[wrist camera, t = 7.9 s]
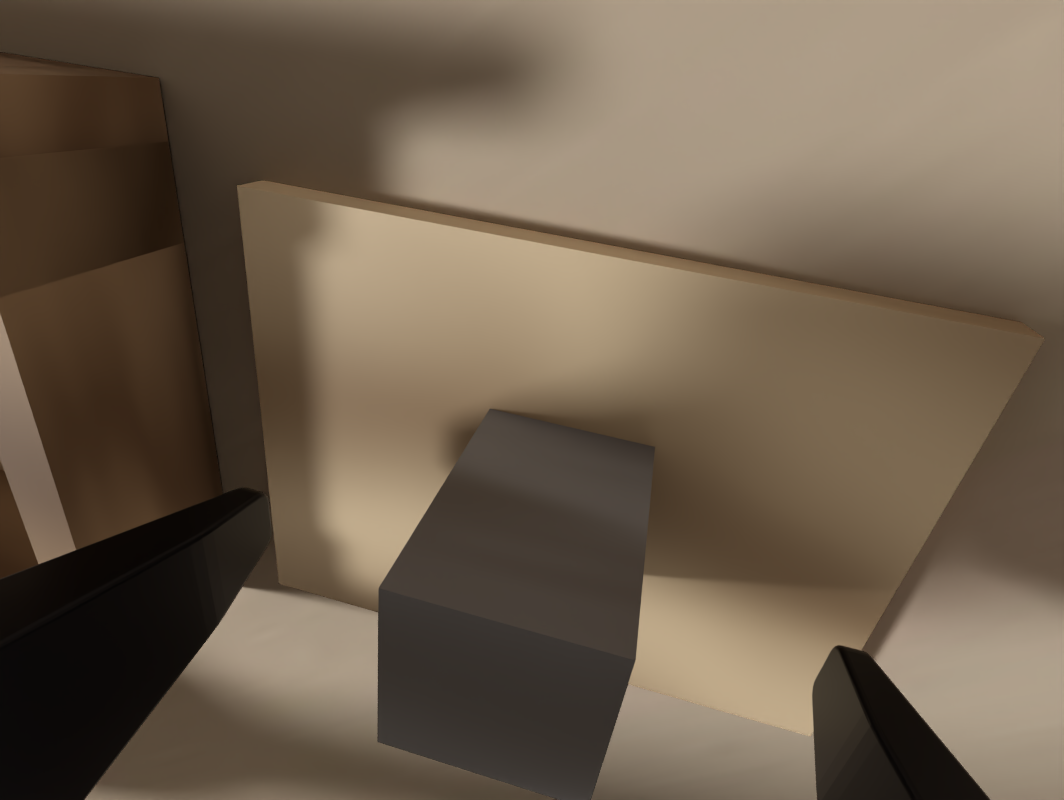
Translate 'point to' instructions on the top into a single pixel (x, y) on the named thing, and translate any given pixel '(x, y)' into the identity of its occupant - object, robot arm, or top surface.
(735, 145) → the top surface
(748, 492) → the oak lid
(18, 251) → the walnut box
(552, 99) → the top surface
